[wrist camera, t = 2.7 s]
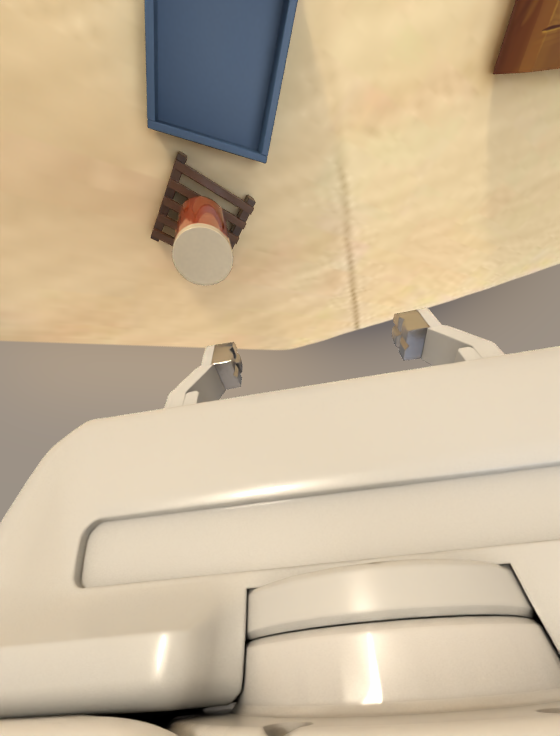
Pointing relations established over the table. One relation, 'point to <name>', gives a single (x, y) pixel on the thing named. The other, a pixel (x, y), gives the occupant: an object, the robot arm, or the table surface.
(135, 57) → the table surface
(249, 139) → the tray
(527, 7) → the diary
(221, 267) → the cup
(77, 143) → the table surface
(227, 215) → the drying rack
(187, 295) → the table surface
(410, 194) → the table surface
